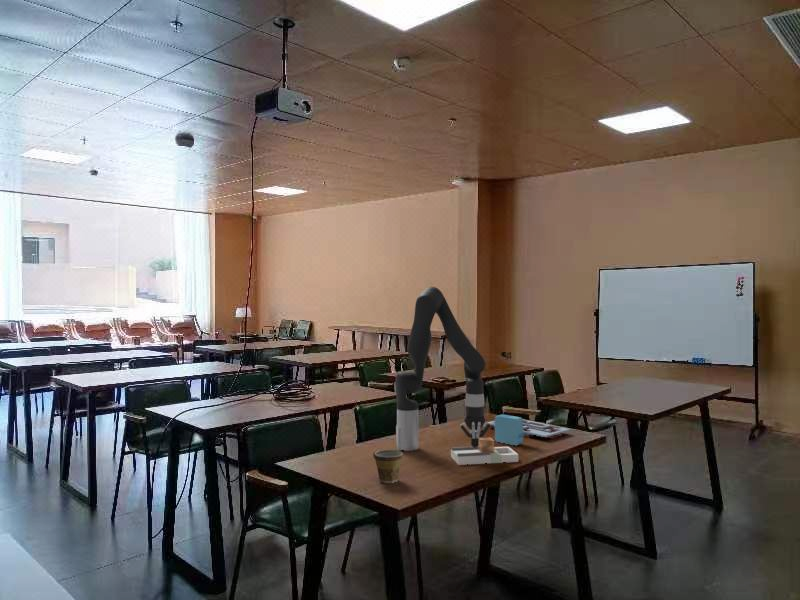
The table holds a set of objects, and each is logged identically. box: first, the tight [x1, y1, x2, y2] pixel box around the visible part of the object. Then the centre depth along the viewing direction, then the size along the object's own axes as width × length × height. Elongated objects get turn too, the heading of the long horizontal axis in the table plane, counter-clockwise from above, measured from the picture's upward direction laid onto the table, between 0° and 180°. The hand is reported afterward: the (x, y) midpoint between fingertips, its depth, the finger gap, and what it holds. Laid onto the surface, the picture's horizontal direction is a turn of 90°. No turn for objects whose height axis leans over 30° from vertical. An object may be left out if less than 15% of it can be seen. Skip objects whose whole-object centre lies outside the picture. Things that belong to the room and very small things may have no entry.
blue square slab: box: [494, 414, 524, 447], centre depth 260 cm, size 12×4×12 cm, turn 48°
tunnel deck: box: [450, 445, 519, 466], centre depth 236 cm, size 24×12×4 cm, turn 99°
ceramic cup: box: [372, 449, 403, 484], centre depth 210 cm, size 13×10×10 cm
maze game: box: [486, 418, 571, 440], centre depth 282 cm, size 35×20×3 cm, turn 40°
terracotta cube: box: [478, 437, 495, 453], centre depth 236 cm, size 5×5×5 cm
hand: (474, 447), depth 235 cm, fingers closed
